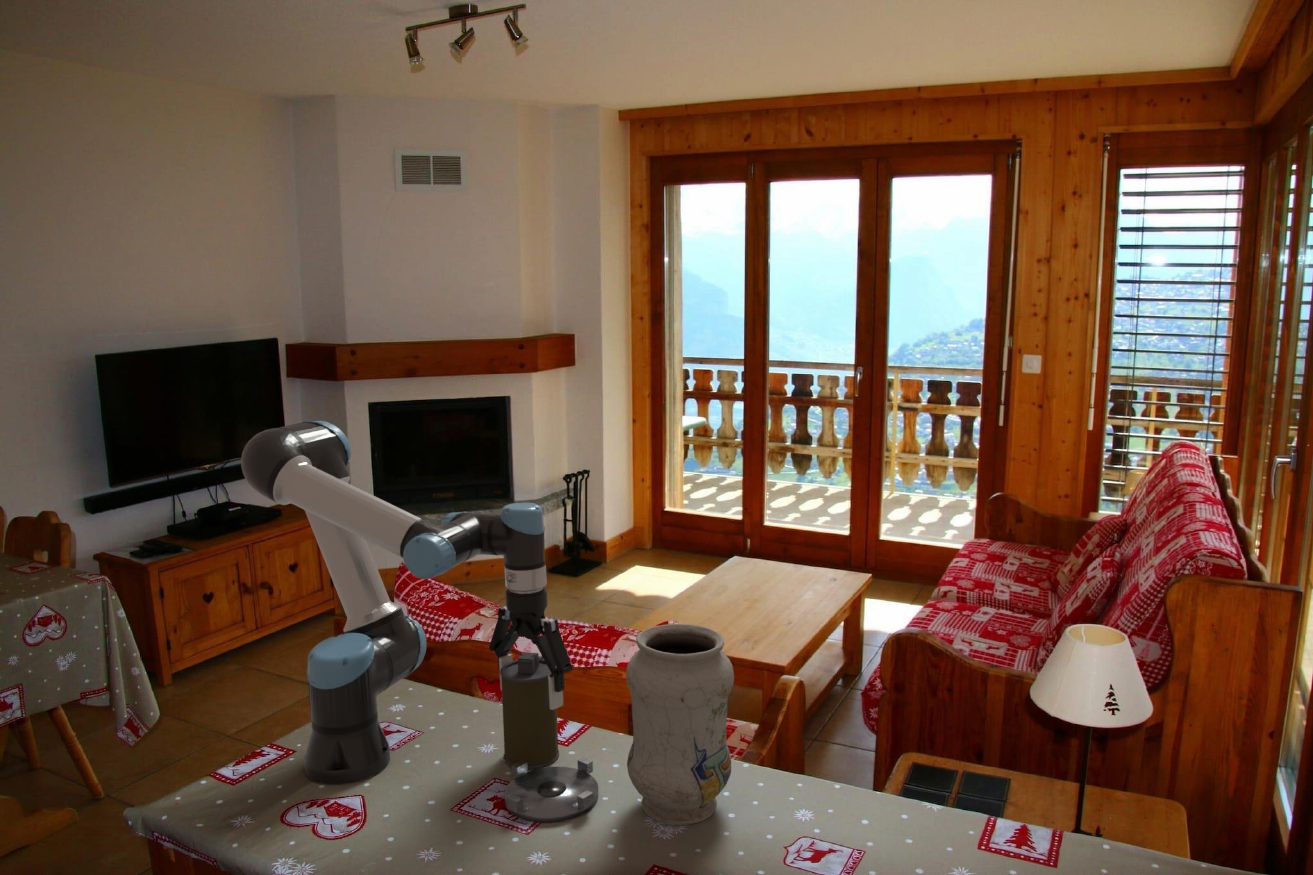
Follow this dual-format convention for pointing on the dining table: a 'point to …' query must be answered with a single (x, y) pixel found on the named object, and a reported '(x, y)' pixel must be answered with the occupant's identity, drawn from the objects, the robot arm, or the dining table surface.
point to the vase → (679, 721)
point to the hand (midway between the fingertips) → (531, 697)
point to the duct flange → (551, 792)
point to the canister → (528, 713)
